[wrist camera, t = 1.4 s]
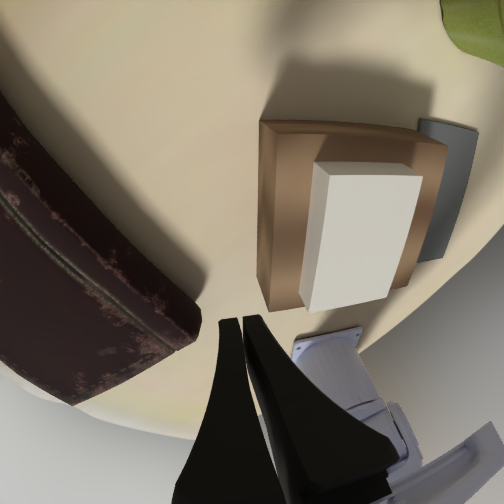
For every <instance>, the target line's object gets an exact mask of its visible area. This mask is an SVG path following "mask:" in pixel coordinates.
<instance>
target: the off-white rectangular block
mask: <svg viewBox="0 0 504 504" xmlns="http://www.w3.org/2000/svg"><path fill="white" fill-rule="evenodd" d="M422 179H423V176H422V175H420V174H419V173H417V172H416V171H414V170H412V169H411V168H409V167H408V166H406V165H404V164H401V163H379V162H314V164H313V175H312V186H311V196H310V205H309V215H308V224H307V232H306V241H305V249H304V257H303V264H302V272H301V279H300V286H299V294H300V296H301V299H302V301H303V303H304V305H305V307H306V309H307V311H308V313H313V312H319V311H324V310H329V309H334V308H340V307H344V306H349V305H354V304H359V303H364V302H368V301H373V300H377V299H382V298H386V297H387V295H388V292H389V289H390V287H391V284H392V281H393V278H394V275H395V273H396V270H397V267H398V264H399V261H400V258H401V255H402V252H403V249H404V245H405V242H406V239H407V236H408V232H409V229H410V226H411V222H412V218H413V215H414V211H415V207H416V204H417V200H418V196H419V192H420V187H421V183H422Z"/></svg>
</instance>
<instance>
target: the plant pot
mask: <svg viewBox="0 0 504 504" xmlns="http://www.w3.org/2000/svg"><path fill="white" fill-rule="evenodd" d="M441 7H442V9H443V24H444V26H445V29H446V31H447V33H448V35H449V37H450V39H451V40H452V41H453V43H454V44H455V45H456V46H457V47H458V48H459V49H460V50H461V51H463V52H465V53H467V54H470V55H473V56H476V57H479V58H482V59H484V60H487V61H490V62H493V63H495V64H498V65H500V66H502V67H504V0H441Z"/></svg>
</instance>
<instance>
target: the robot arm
mask: <svg viewBox="0 0 504 504" xmlns="http://www.w3.org/2000/svg"><path fill="white" fill-rule="evenodd" d="M218 324H219V349H218V357H217V364H216V371H215V376H214V380H213V385H212V390H211V394H210V398H209V401H208V405H207V408H206V412H205V415H204V418H203V421H202V424H201V427H200V430H199V433H198V435H197V438H196V440H195V443H194V445H193V448H192V450H191V452H190V455H189V457H188V459H187V462H186V464H185V466H184V468H183V470H182V472H181V474H180V476H179V478H178V480H177V482H176V484H175V489H174V493H173V497H172V503H171V504H464V503H465V502H466V501H467V500H469V499H470V498H471V497H472V496H473V495H474V494H475V493H476V492H477V491H478V490H479V489H480V488H481V487H482V486H483V485H484V484H485V483H486V482H487V481H488V480H489V479H490V478H491V477H493V476H494V475H495V474H496V473H497V472H498V471H499V470H500V469H501V468H502V467H503V466H504V444H503V442H502V441H501V439H500V437H499V435H498V433H497V431H496V429H495V427H494V426H493V424H492V422H491V421H489V422H488V423H487V424H485V425H484V426H483V427H482V428H480V429H479V430H477V431H476V432H475V433H473V434H472V435H471V436H469V437H468V438H467V439H465V441H463V442H462V443H460V444H459V445H457V446H456V447H454V448H453V449H451V450H450V451H448V452H447V453H445V454H443V455H442V456H440V457H438V458H437V459H435V460H433V461H432V462H430V463H428V464H426V465H425V466H423V467H421V466H422V459H423V456H422V454H421V452H420V450H419V447H418V442H417V439H416V437H415V435H414V433H413V431H412V428H411V426H410V424H409V422H408V420H407V418H406V416H405V414H404V412H403V411H402V409H401V407H400V405H399V404H398V403H393V402H392V401H390V402H389V403H387V406H388V408H389V410H390V413H391V416H392V418H393V420H394V421H393V420H392V418H391V416H390V414H389V412H388V410H387V408H386V406H385V403H384V402H383V399H382V398H381V397H380V395H379V393H378V391H377V390H376V388H375V386H374V384H373V382H372V380H371V378H370V376H369V374H368V372H367V370H366V368H365V366H364V364H363V362H362V360H361V358H360V357H359V354H358V353H357V351H356V349H355V348H356V346H357V343H358V341H359V339H360V336H361V334H362V331H363V329H362V328H361V327H356V328H352V329H348V330H343V331H339V332H335V333H330V334H325V335H321V336H316V337H311V338H306V339H301V340H297V341H295V342H294V345H293V351H292V356H291V359H290V357H289V356H288V355H287V354H286V352H285V351H284V350H283V349H282V347H281V346H280V345H279V343H278V342H277V340H276V339H275V338H274V336H273V335H272V333H271V332H270V330H269V329H268V327H267V325H266V324H265V322H264V320H263V318H262V317H261V316H260V315H259V314H257V315H251V316H244V317H243V338H242V332H241V329H240V325H239V322H238V319H237V317H236V318H229V319H221V320H220V321H219V322H218ZM245 359H246V360H245ZM246 364H247V368H246ZM247 369H248V373H249V376H250V379H251V382H252V385H253V388H254V391H255V394H256V397H257V400H258V403H259V406H260V409H261V412H262V415H263V417H264V421H265V424H266V427H267V432H268V436H269V440H270V444H271V449H272V453H273V457H274V461H275V466H276V470H277V474H278V476H277V474H276V471H275V468H274V465H273V463H272V460H271V457H270V454H269V451H268V448H267V445H266V442H265V439H264V435H263V432H262V429H261V426H260V422H259V419H258V416H257V412H256V409H255V405H254V402H253V398H252V395H251V391H250V386H249V381H248V375H247ZM402 439H403V441H404V443H405V445H406V447H405V445H404V443H403V441H402ZM396 462H397V463H396Z"/></svg>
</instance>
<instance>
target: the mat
mask: <svg viewBox="0 0 504 504" xmlns="http://www.w3.org/2000/svg"><path fill="white" fill-rule="evenodd" d="M418 132H420V133H422V134H424V135H426V136H429V137H431V138H433V139H435V140H437V141H439V142H441V143H443V144H445V145H447V146H449V147H448V152H447V157H446V162H445V166H444V171H443V175H442V179H441V183H440V187H439V191H438V195H437V199H436V202H435V206H434V209H433V213H432V216H431V220H430V223H429V226H428V229H427V232H426V236H425V239H424V242H423V245H422V247H421V250H420V253H419V256H418V259H417V262H416V263H419V262H424V261H429V260H435V259H440V258H443V256H444V253H445V251H446V248H447V245H448V243H449V240H450V237H451V234H452V232H453V229H454V226H455V223H456V220H457V217H458V214H459V211H460V207H461V204H462V201H463V197H464V194H465V190H466V187H467V183H468V179H469V175H470V171H471V167H472V163H473V159H474V154H475V150H476V145H477V140H478V135H479V132H476V131H472V130H469V129H465V128H461V127H457V126H453V125H449V124H444V123H440V122H435V121H430V120H425V119H419V126H418Z"/></svg>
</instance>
